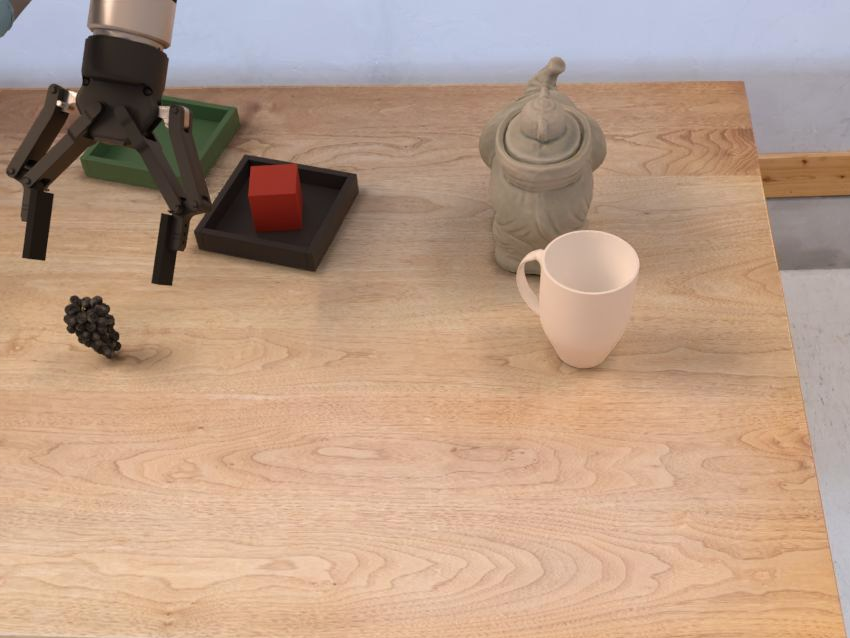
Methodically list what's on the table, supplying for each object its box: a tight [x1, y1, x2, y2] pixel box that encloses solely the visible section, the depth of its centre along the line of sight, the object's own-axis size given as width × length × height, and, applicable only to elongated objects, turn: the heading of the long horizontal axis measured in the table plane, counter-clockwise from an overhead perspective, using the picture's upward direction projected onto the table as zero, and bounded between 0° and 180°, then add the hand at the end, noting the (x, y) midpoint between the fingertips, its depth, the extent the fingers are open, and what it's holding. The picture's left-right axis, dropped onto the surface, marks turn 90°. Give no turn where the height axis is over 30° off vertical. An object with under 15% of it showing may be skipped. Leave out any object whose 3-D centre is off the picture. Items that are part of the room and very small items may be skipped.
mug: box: [515, 229, 640, 369], centre depth 106 cm, size 12×9×12 cm
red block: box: [248, 164, 303, 232], centre depth 121 cm, size 5×5×5 cm
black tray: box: [193, 154, 360, 273], centre depth 123 cm, size 14×14×3 cm
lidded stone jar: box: [478, 56, 608, 276], centre depth 114 cm, size 16×15×19 cm
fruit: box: [62, 294, 122, 360], centre depth 108 cm, size 5×4×8 cm
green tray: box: [79, 94, 242, 194], centre depth 131 cm, size 14×14×3 cm
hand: (96, 272), depth 106 cm, fingers open, 13 cm apart
